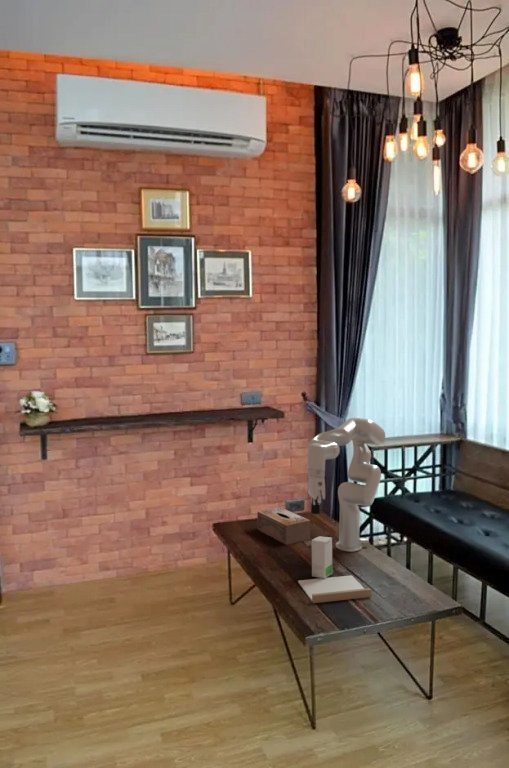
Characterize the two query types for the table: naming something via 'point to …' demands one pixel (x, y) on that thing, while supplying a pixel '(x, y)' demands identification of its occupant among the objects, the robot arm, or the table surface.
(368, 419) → the robot arm
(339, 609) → the table surface
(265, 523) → the tissue box cover
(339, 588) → the white flat piece
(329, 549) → the skincare box
